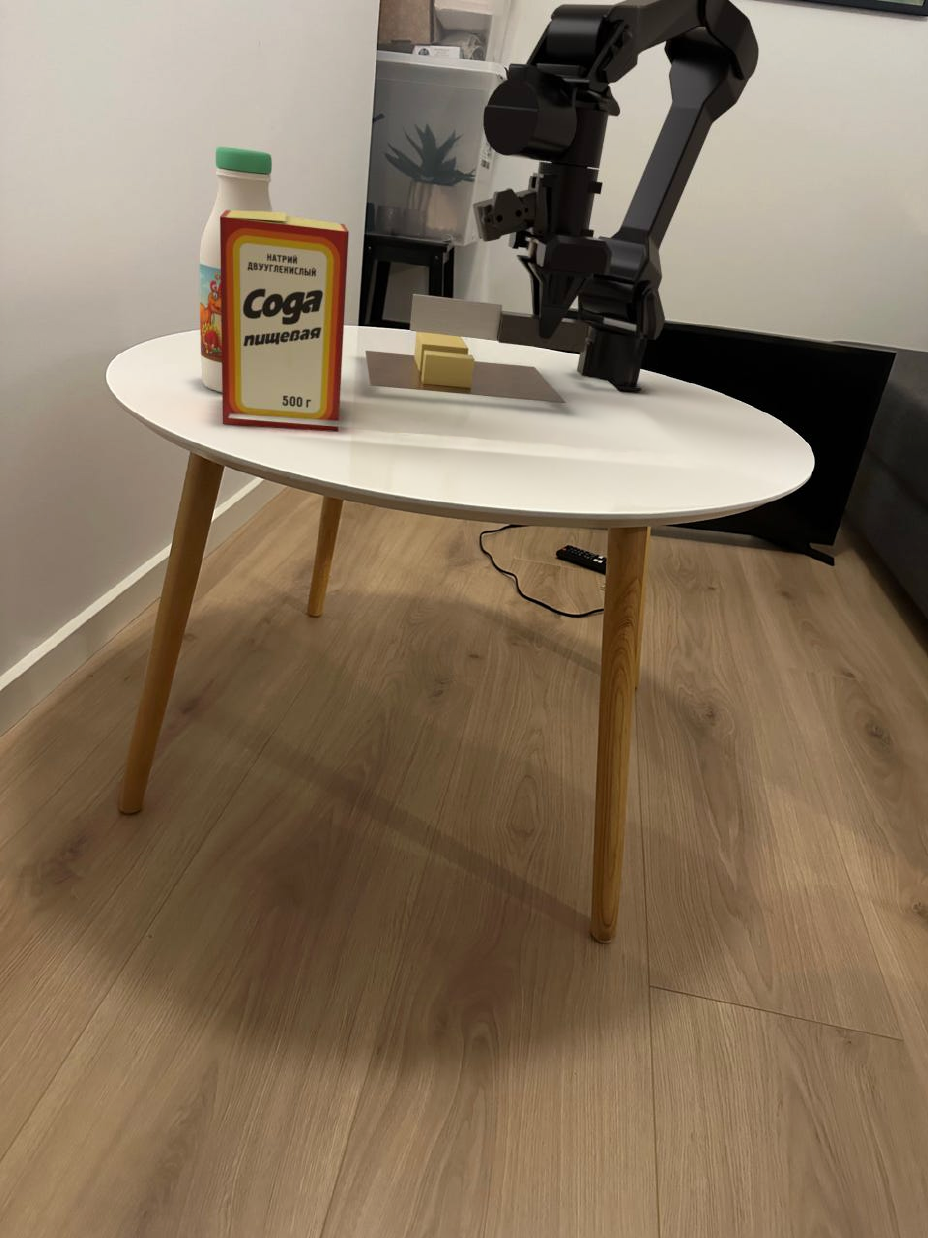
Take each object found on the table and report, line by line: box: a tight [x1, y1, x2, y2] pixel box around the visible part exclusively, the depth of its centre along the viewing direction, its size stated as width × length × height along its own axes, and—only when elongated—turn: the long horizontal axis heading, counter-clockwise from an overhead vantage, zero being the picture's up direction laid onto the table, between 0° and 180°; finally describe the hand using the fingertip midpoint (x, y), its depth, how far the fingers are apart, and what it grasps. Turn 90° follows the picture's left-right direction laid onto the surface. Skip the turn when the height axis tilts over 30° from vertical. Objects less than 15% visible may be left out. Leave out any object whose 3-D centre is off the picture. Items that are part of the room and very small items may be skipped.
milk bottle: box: [198, 146, 274, 393], centre depth 77 cm, size 8×8×20 cm
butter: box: [413, 331, 469, 372], centre depth 94 cm, size 5×7×3 cm
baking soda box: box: [220, 210, 350, 433], centre depth 71 cm, size 10×6×16 cm
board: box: [365, 350, 567, 404], centre depth 93 cm, size 20×16×1 cm
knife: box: [409, 293, 589, 353], centre depth 87 cm, size 18×2×4 cm, turn 97°
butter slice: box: [422, 350, 476, 388], centre depth 87 cm, size 5×2×3 cm, turn 97°
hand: (542, 335), depth 88 cm, fingers closed on knife, 2 cm apart
